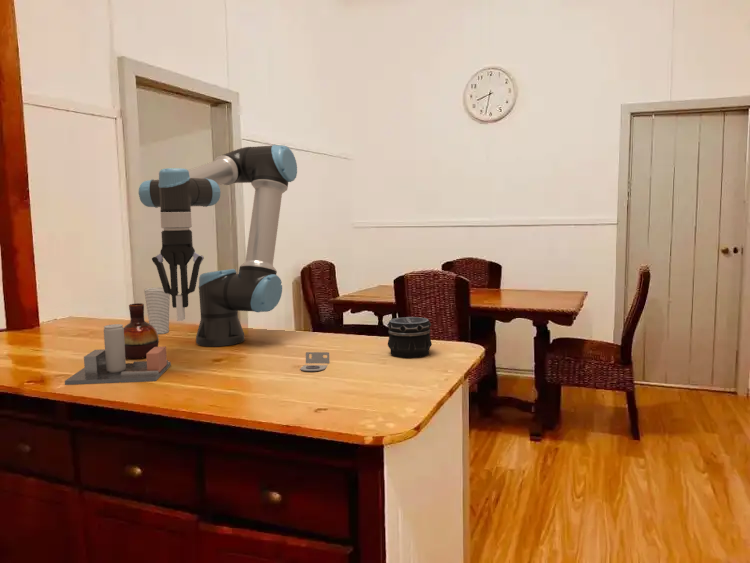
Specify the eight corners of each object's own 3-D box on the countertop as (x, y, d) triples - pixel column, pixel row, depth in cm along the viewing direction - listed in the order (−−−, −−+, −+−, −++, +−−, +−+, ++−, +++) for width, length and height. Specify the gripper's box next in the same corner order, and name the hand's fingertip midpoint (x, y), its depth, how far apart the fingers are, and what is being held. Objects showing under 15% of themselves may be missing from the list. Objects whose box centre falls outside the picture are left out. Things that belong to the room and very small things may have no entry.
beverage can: (120, 367, 169) (117, 323, 167) (129, 370, 166) (126, 325, 164) (103, 371, 165) (99, 326, 164) (112, 374, 162) (109, 328, 161)
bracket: (298, 373, 164) (297, 360, 164) (306, 364, 174) (305, 352, 174) (322, 373, 164) (322, 360, 163) (329, 364, 174) (329, 352, 173)
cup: (147, 331, 223) (144, 288, 222) (172, 329, 226) (170, 286, 224) (146, 336, 215) (143, 291, 214) (172, 334, 218) (169, 289, 216)
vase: (167, 352, 190) (164, 301, 188) (144, 361, 179) (140, 307, 178) (135, 351, 193) (132, 301, 191) (111, 359, 182) (107, 306, 181)
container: (379, 352, 185) (379, 318, 184) (417, 347, 191) (417, 314, 190) (401, 361, 174) (400, 325, 173) (440, 355, 180) (440, 321, 179)
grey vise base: (170, 365, 174) (169, 343, 174) (155, 381, 158) (154, 357, 158) (88, 368, 173) (87, 346, 172) (64, 384, 157) (63, 361, 156)
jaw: (166, 364, 170) (165, 346, 170) (159, 372, 162) (158, 353, 162) (155, 365, 170) (154, 346, 169) (147, 372, 162) (146, 353, 161)
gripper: (205, 228, 167) (209, 316, 169) (154, 229, 166) (159, 318, 168) (199, 229, 159) (203, 321, 162) (146, 230, 158) (151, 323, 161)
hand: (181, 319), depth 165 cm, fingers closed
